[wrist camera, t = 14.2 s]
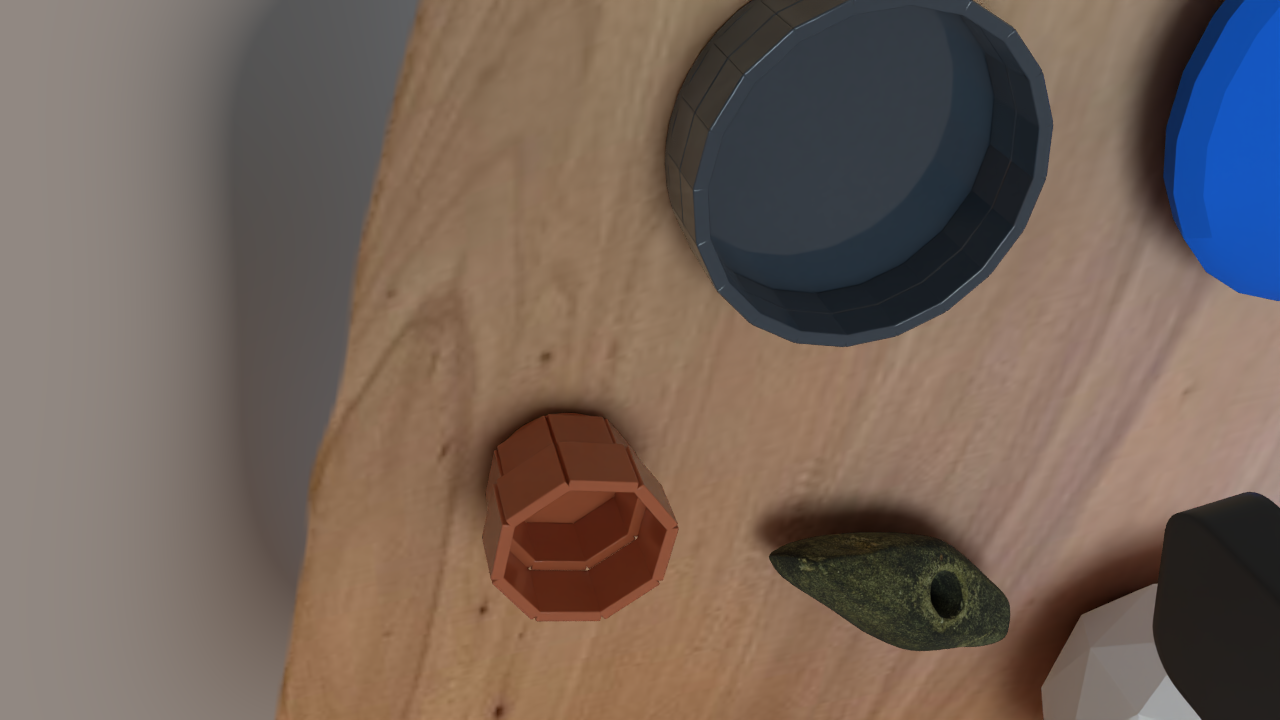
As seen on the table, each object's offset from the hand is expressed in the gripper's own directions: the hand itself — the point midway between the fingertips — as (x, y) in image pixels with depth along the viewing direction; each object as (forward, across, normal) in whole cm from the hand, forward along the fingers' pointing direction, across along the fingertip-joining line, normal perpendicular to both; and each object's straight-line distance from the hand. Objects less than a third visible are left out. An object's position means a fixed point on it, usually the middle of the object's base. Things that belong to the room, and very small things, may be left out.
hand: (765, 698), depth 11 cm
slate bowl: (+28, -11, +9) cm, 32 cm away
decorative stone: (+28, -12, +29) cm, 42 cm away
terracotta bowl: (+28, 0, +19) cm, 34 cm away
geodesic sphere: (+28, -25, +39) cm, 54 cm away
